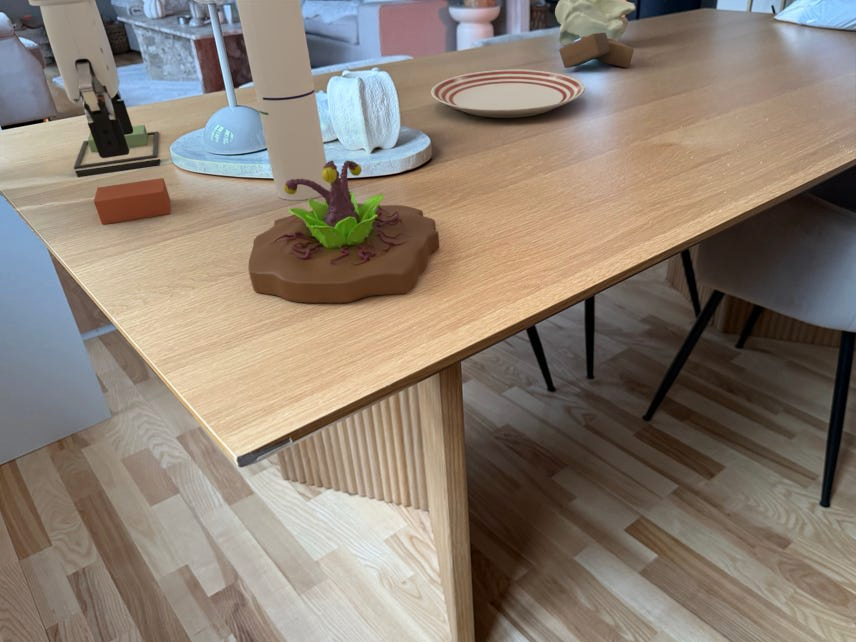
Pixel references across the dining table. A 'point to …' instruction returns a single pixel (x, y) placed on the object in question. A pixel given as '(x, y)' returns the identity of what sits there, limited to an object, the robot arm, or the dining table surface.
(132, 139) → the sage pad
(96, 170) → the frame tray
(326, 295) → the plant
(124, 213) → the terracotta pad
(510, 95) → the dinner plate
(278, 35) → the cylindrical container
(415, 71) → the dining table surface
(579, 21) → the wavy plaster lump
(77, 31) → the robot arm
